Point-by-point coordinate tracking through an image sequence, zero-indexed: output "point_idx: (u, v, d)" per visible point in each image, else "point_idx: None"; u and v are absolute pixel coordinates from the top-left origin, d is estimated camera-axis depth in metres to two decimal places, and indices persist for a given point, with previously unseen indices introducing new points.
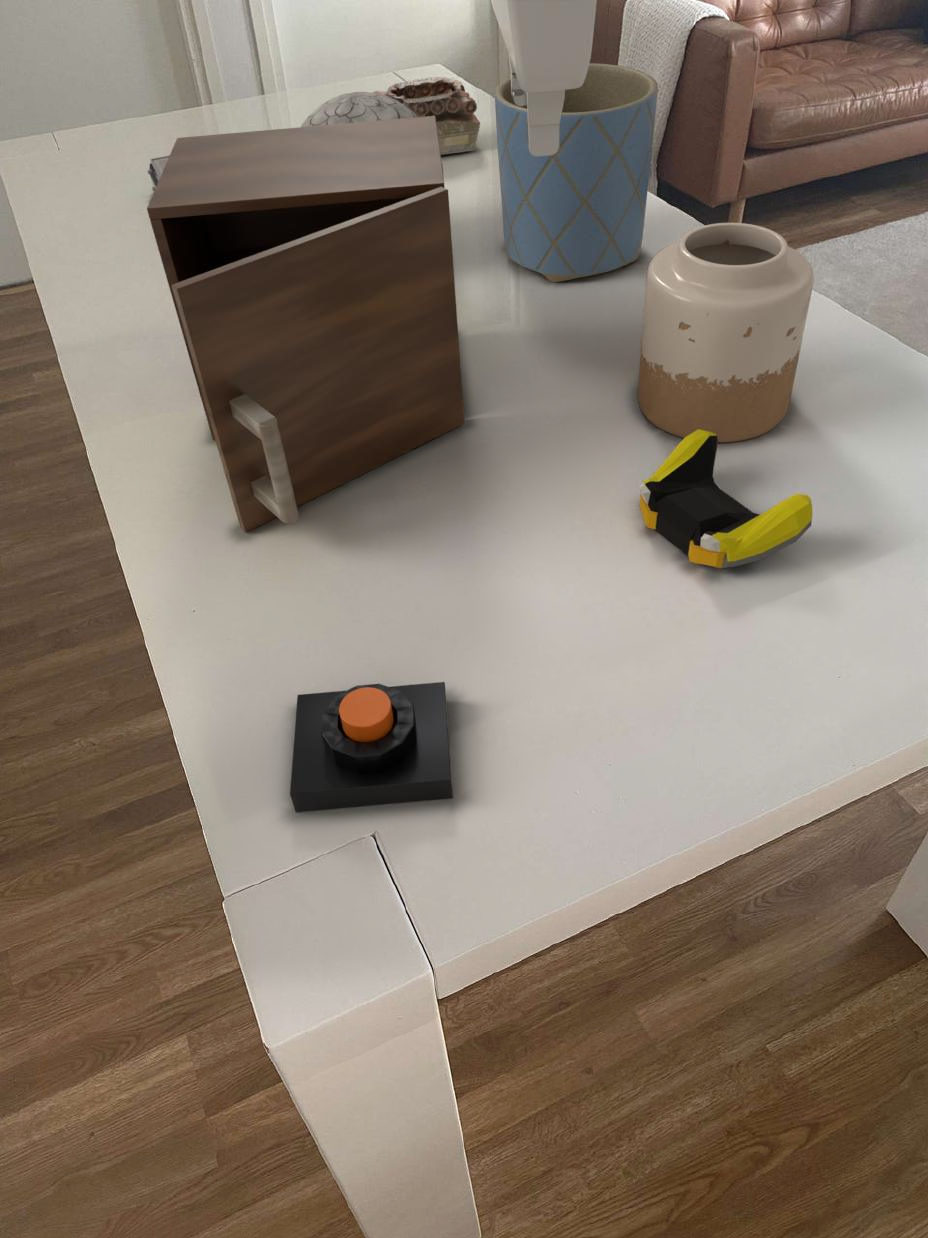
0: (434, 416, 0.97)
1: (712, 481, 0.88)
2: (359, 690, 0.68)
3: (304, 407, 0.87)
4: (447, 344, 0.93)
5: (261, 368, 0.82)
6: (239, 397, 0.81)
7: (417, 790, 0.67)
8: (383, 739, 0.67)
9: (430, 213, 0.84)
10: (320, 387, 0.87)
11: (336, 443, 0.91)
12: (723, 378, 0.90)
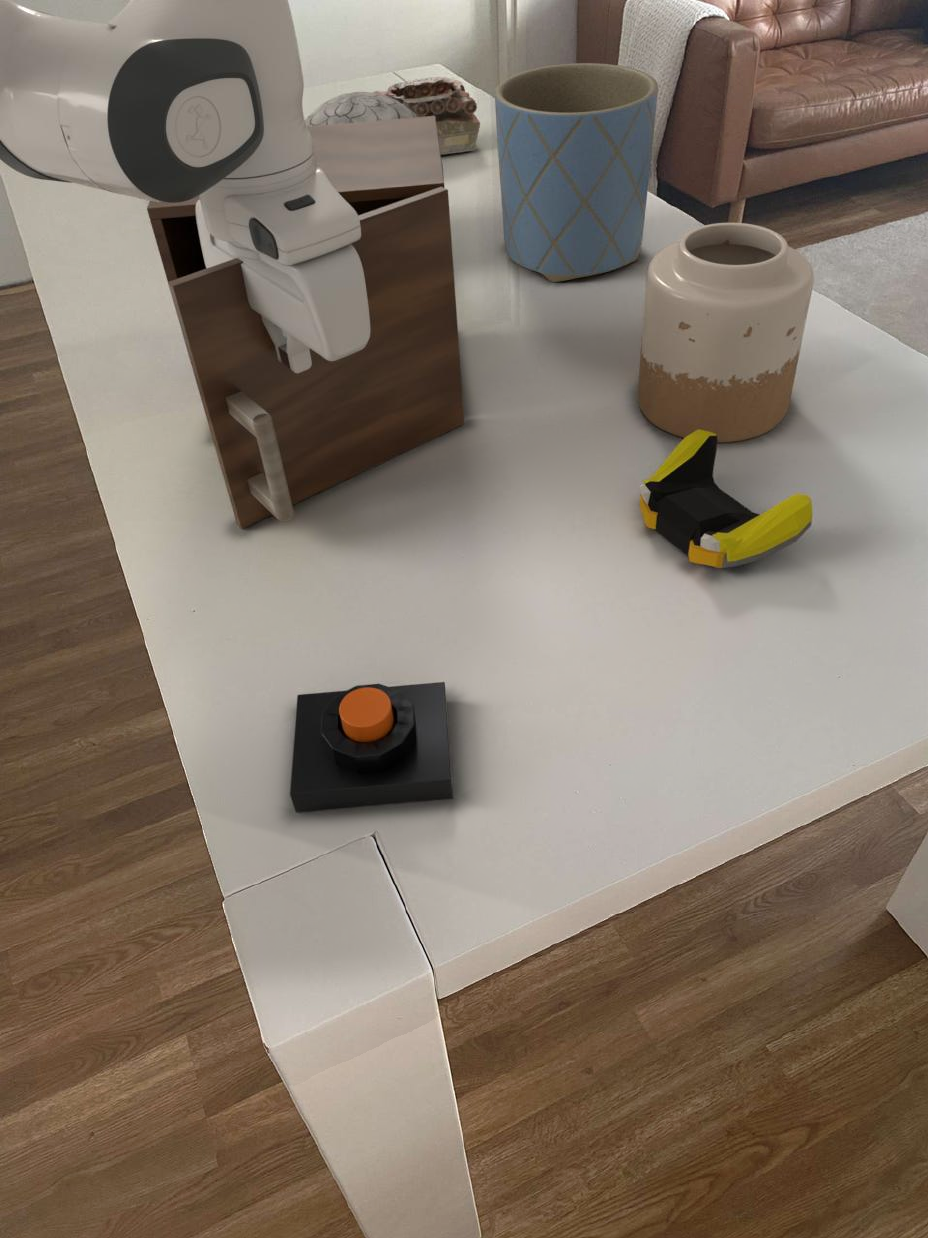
0: (433, 416, 0.97)
1: (712, 481, 0.88)
2: (359, 690, 0.68)
3: (301, 405, 0.87)
4: (447, 344, 0.93)
5: (258, 366, 0.82)
6: (235, 394, 0.82)
7: (417, 790, 0.67)
8: (383, 739, 0.67)
9: (429, 213, 0.84)
10: (317, 386, 0.87)
11: (333, 441, 0.91)
12: (723, 378, 0.90)
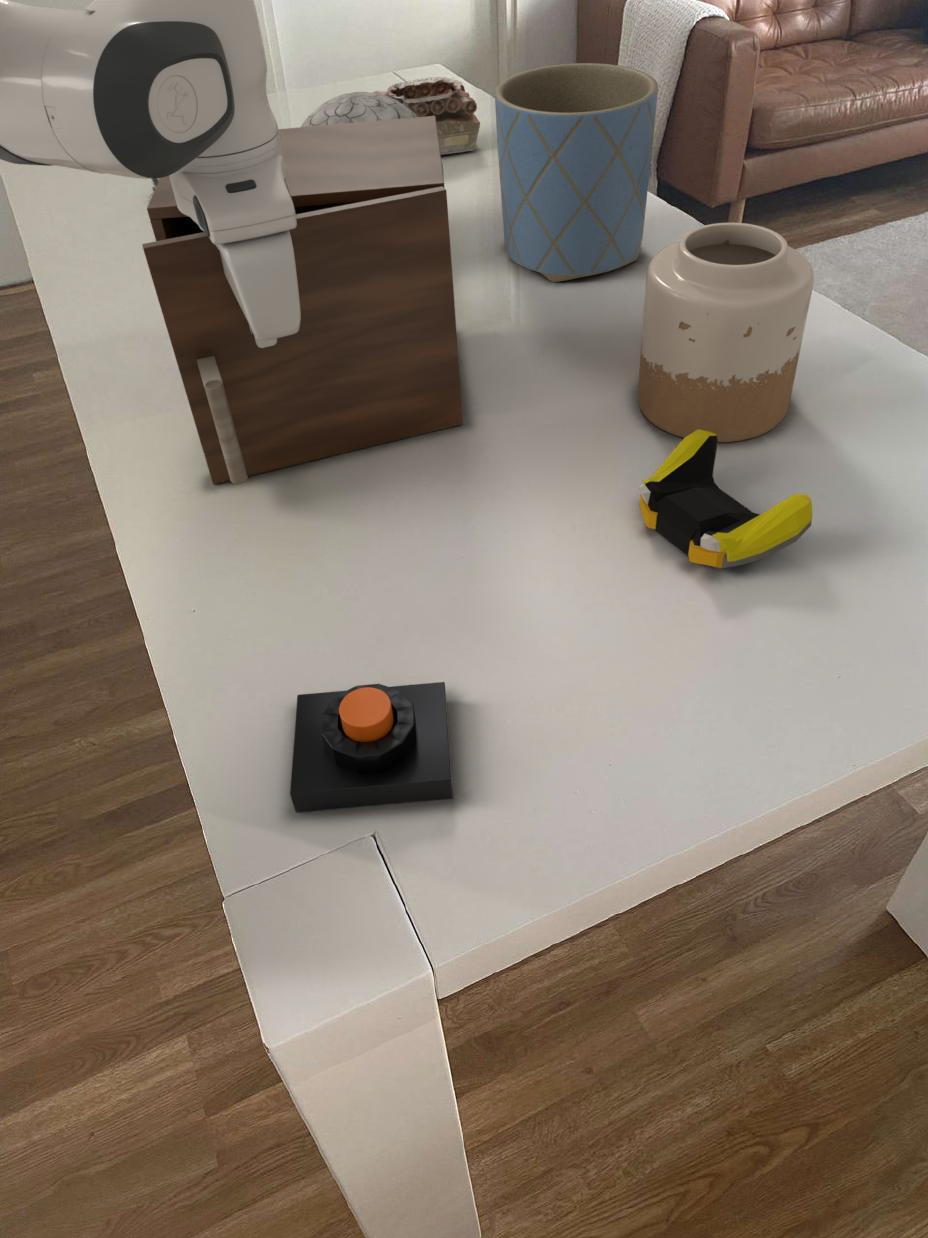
0: (427, 411, 0.98)
1: (712, 481, 0.88)
2: (359, 690, 0.68)
3: (278, 378, 0.90)
4: (443, 342, 0.94)
5: (231, 334, 0.86)
6: (206, 358, 0.87)
7: (417, 790, 0.67)
8: (383, 739, 0.67)
9: (424, 211, 0.85)
10: (296, 362, 0.90)
11: (313, 418, 0.94)
12: (723, 378, 0.90)
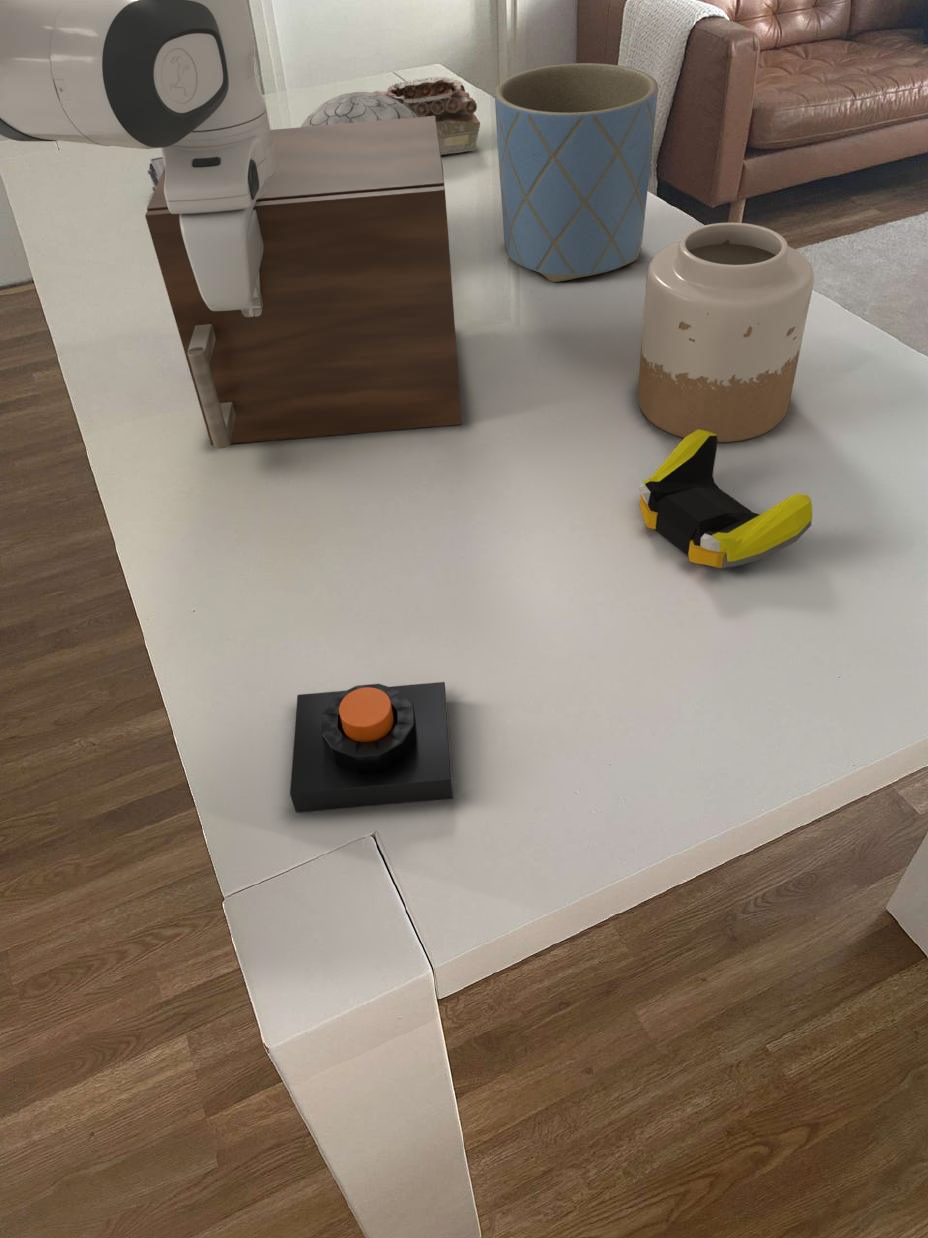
0: (424, 406, 0.99)
1: (712, 481, 0.88)
2: (359, 690, 0.68)
3: (274, 354, 0.94)
4: (441, 341, 0.94)
5: None
6: (204, 325, 0.91)
7: (417, 790, 0.67)
8: (383, 739, 0.67)
9: (422, 209, 0.85)
10: (291, 341, 0.93)
11: (308, 397, 0.97)
12: (723, 378, 0.90)
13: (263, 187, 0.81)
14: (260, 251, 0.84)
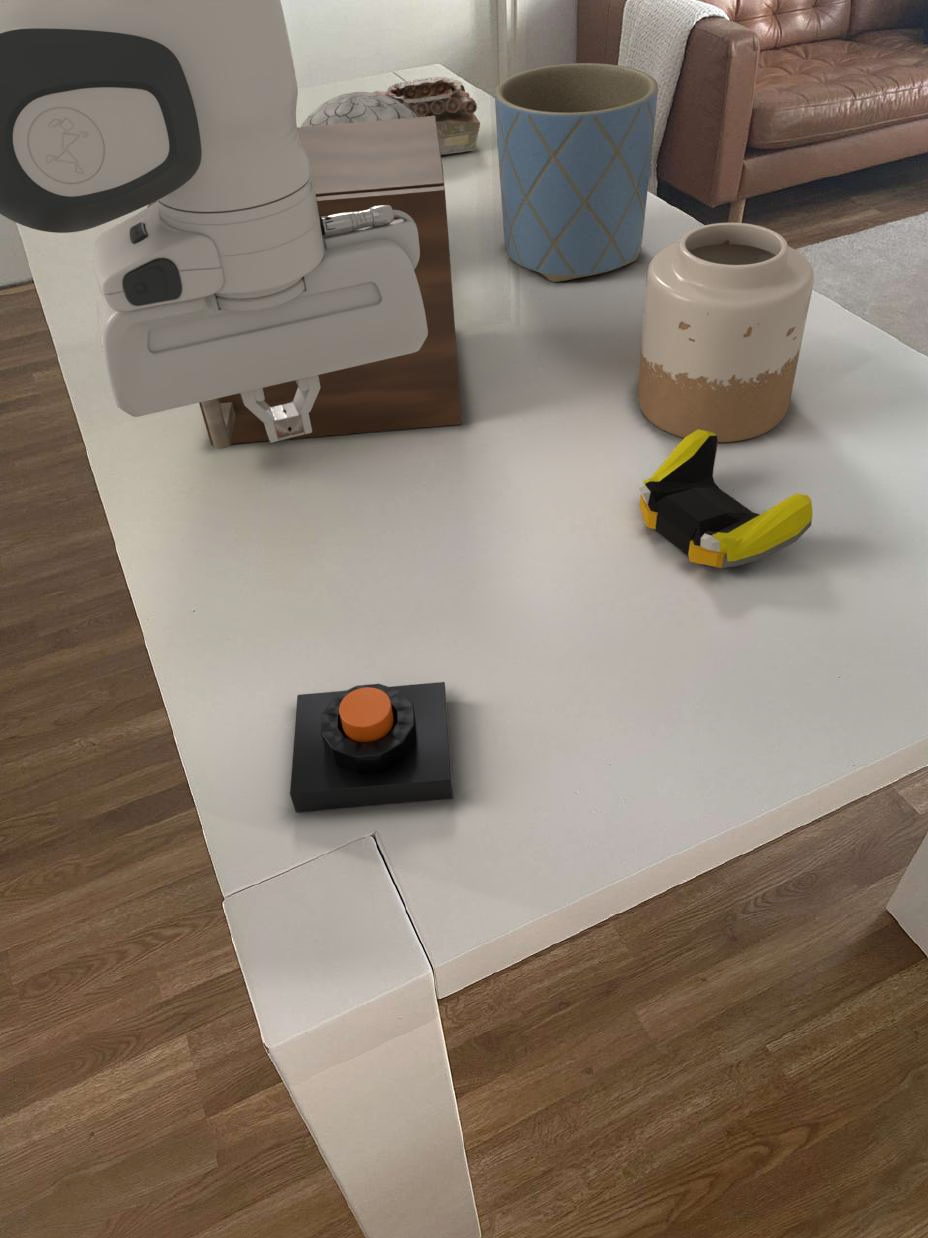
0: (424, 406, 0.99)
1: (712, 481, 0.88)
2: (359, 690, 0.68)
3: None
4: (441, 341, 0.94)
5: None
6: None
7: (417, 790, 0.67)
8: (383, 739, 0.67)
9: (422, 209, 0.85)
10: None
11: None
12: (723, 378, 0.90)
13: (257, 302, 0.56)
14: (270, 372, 0.61)
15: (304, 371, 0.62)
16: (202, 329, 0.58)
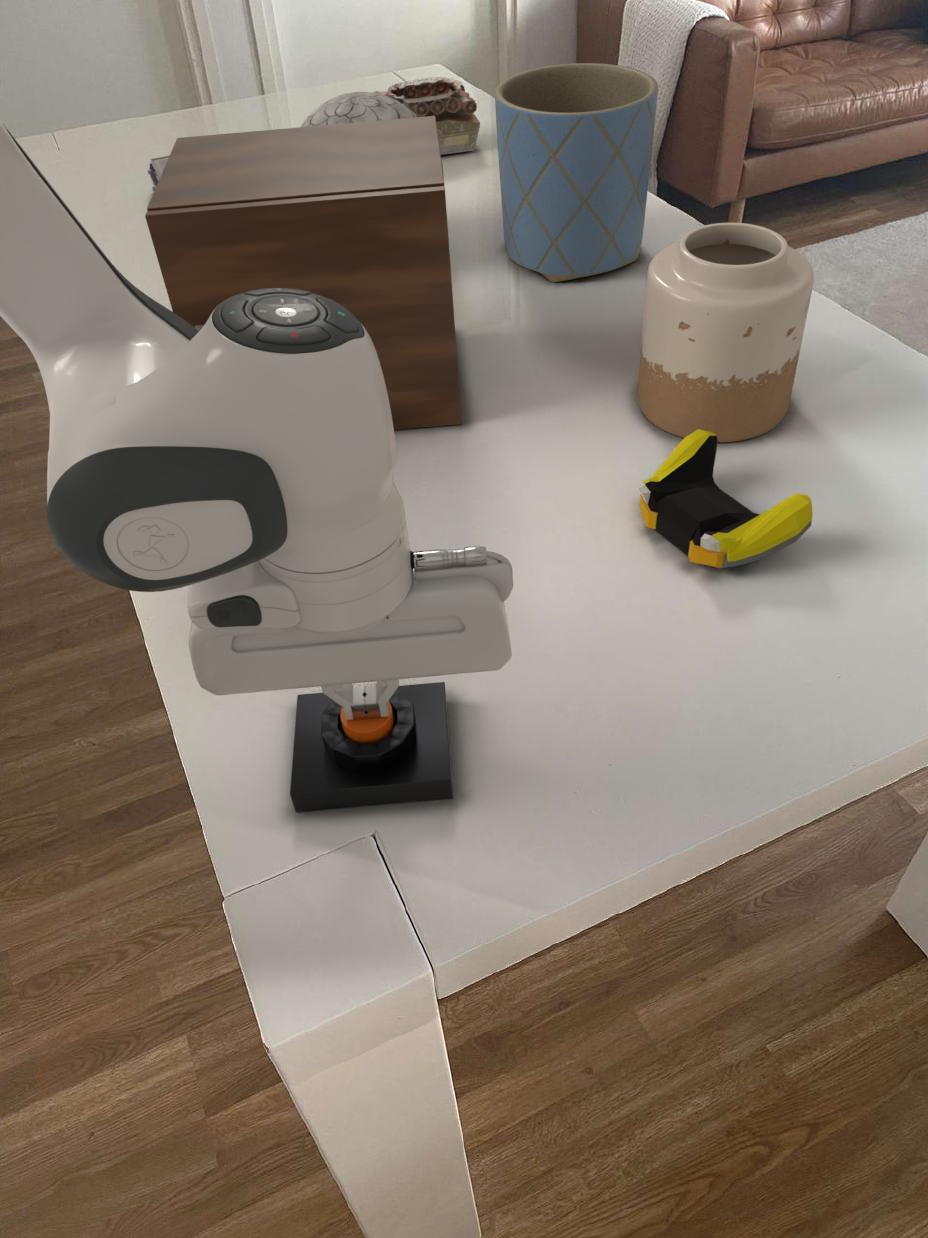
0: (424, 406, 0.99)
1: (712, 481, 0.88)
2: None
3: None
4: (441, 341, 0.94)
5: None
6: None
7: (417, 790, 0.67)
8: (383, 739, 0.67)
9: (422, 209, 0.85)
10: None
11: None
12: (723, 378, 0.90)
13: (335, 632, 0.57)
14: (348, 675, 0.62)
15: (381, 677, 0.62)
16: (285, 637, 0.60)
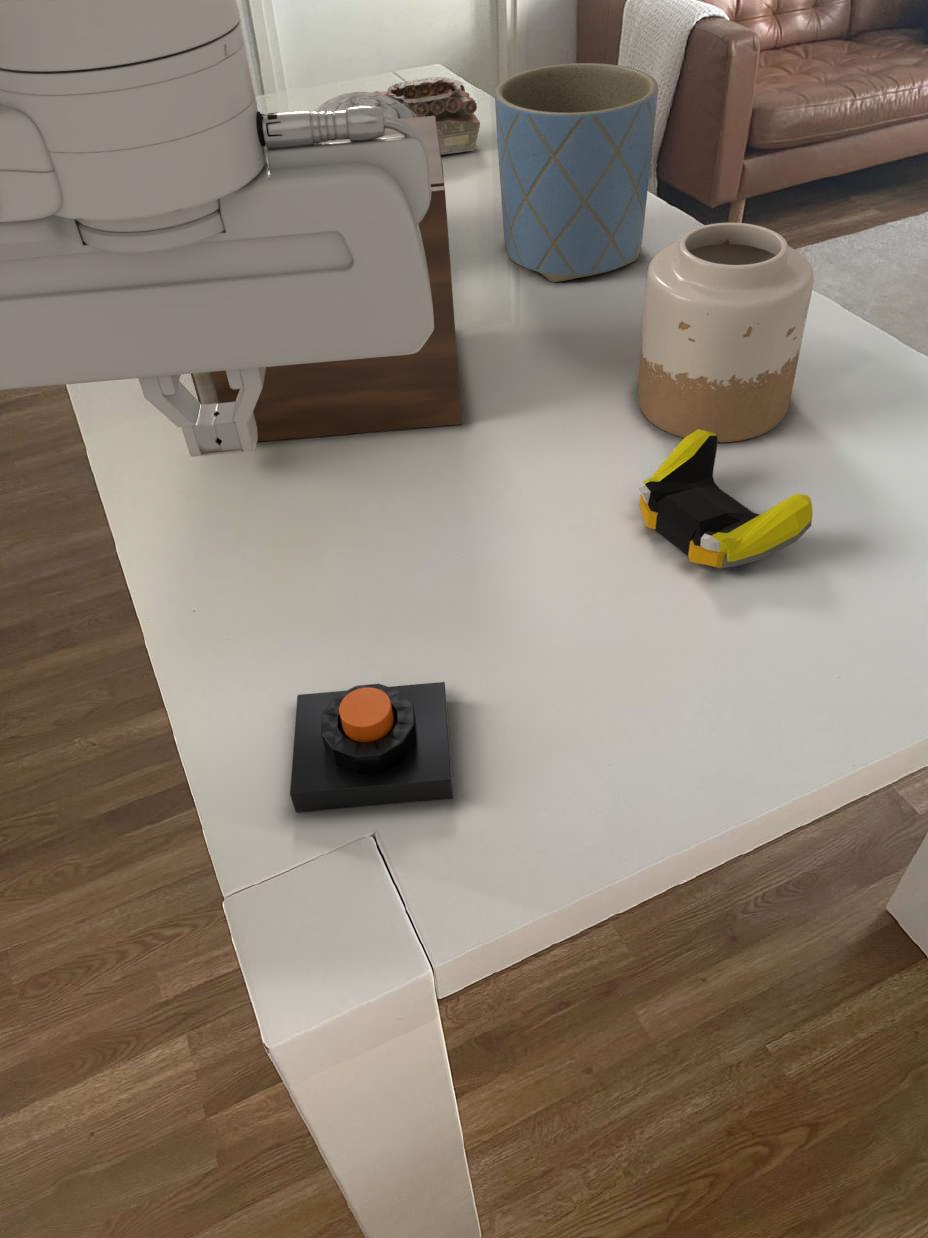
0: (424, 406, 0.99)
1: (712, 481, 0.88)
2: (359, 690, 0.68)
3: None
4: (441, 341, 0.94)
5: None
6: None
7: (417, 790, 0.67)
8: (383, 739, 0.67)
9: None
10: None
11: (308, 397, 0.97)
12: (723, 378, 0.90)
13: (131, 239, 0.35)
14: (175, 355, 0.39)
15: (229, 360, 0.40)
16: (63, 273, 0.37)
